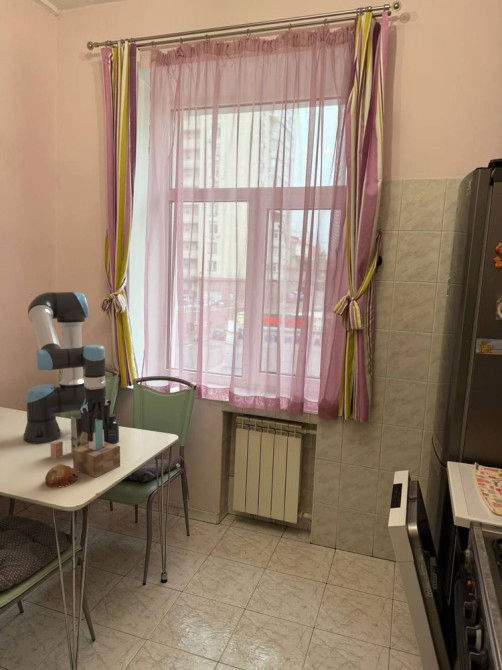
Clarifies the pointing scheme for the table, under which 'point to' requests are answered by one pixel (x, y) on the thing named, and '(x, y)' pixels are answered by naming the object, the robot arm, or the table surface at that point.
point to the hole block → (96, 459)
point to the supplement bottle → (112, 430)
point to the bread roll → (60, 476)
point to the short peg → (56, 449)
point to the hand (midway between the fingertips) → (96, 447)
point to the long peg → (98, 434)
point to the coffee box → (78, 432)
